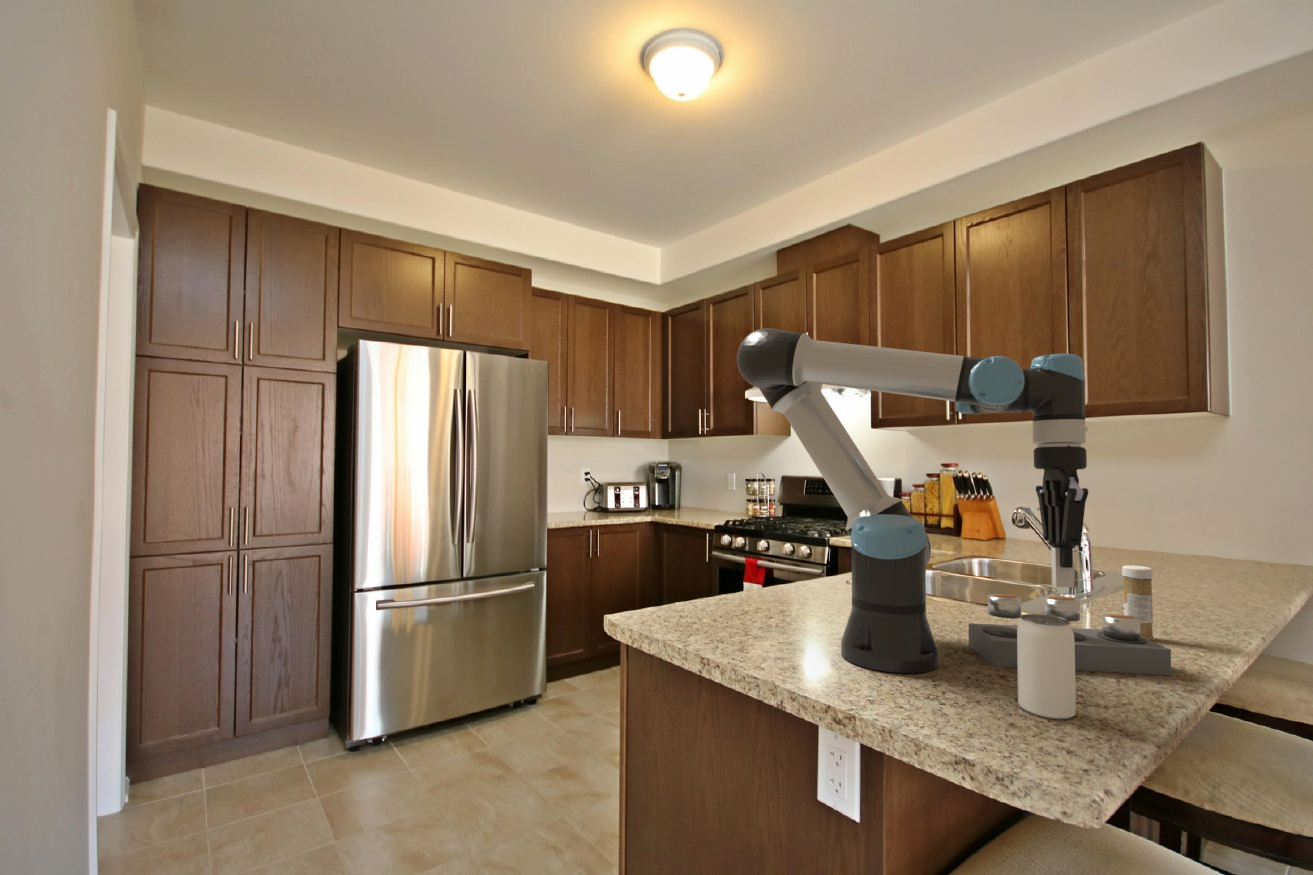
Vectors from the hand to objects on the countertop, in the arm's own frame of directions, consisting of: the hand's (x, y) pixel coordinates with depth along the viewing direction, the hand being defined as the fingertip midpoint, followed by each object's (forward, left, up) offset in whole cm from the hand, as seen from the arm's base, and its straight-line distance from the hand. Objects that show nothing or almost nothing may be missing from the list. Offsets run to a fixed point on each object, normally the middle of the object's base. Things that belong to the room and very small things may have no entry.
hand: (1062, 586), depth 104 cm
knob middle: (0, 0, -5) cm, 5 cm away
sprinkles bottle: (+21, +17, -12) cm, 30 cm away
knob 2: (+9, 0, -8) cm, 12 cm away
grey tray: (0, 0, -12) cm, 12 cm away
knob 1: (-9, 0, -5) cm, 11 cm away
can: (-13, -24, -12) cm, 30 cm away
